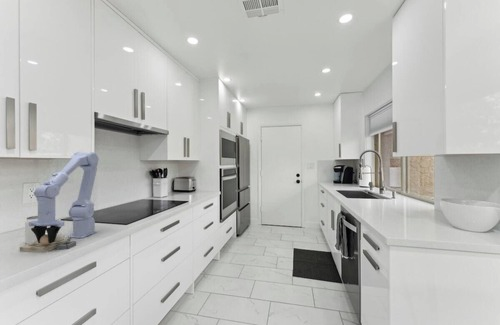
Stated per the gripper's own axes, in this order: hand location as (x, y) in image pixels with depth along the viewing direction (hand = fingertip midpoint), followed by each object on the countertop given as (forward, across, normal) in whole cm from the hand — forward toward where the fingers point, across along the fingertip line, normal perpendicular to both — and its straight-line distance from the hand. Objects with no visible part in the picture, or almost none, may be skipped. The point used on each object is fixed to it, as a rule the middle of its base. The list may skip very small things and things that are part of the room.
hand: (46, 242), depth 97 cm
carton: (+3, -3, +3) cm, 5 cm away
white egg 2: (0, 0, +6) cm, 6 cm away
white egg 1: (0, -6, +6) cm, 8 cm away
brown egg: (-1, 0, 0) cm, 1 cm away
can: (+3, -14, +8) cm, 16 cm away
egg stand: (+3, +7, +3) cm, 8 cm away
